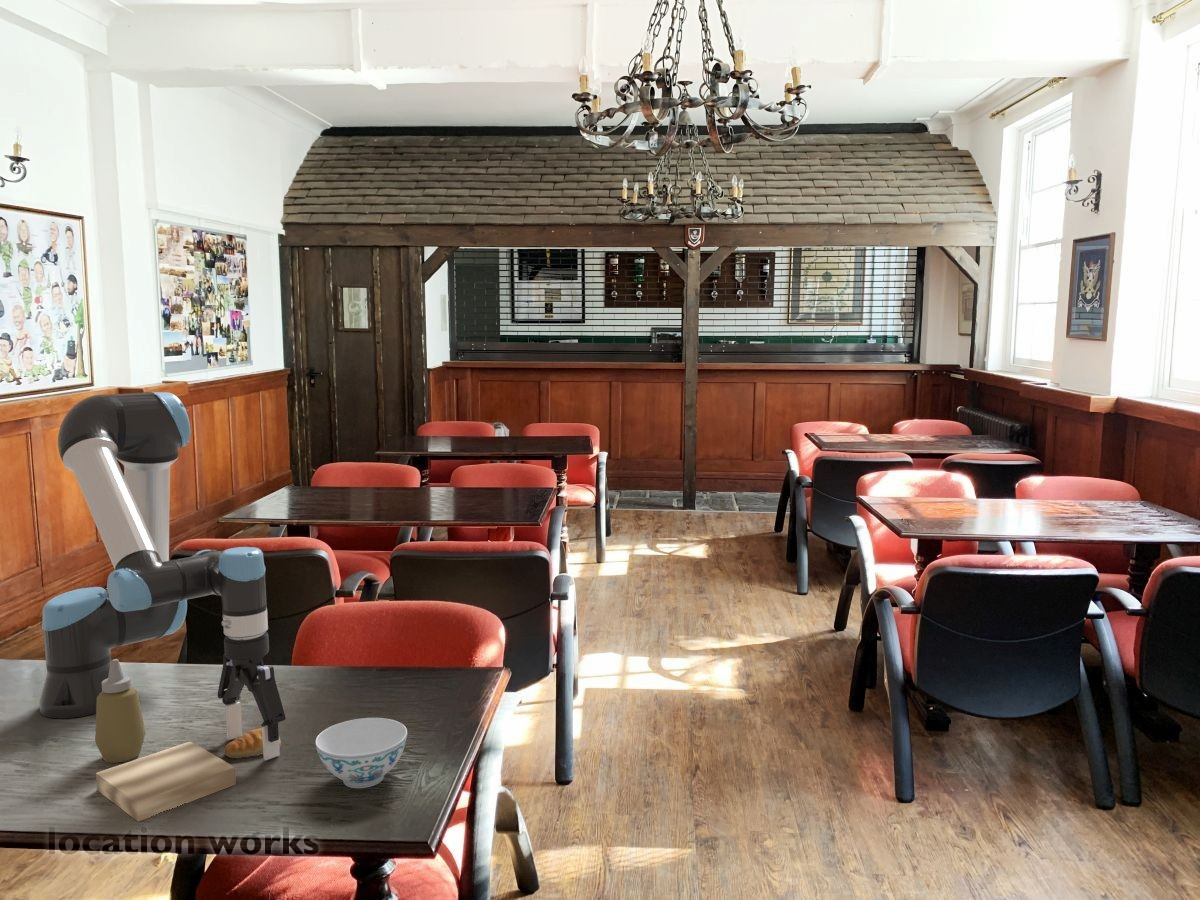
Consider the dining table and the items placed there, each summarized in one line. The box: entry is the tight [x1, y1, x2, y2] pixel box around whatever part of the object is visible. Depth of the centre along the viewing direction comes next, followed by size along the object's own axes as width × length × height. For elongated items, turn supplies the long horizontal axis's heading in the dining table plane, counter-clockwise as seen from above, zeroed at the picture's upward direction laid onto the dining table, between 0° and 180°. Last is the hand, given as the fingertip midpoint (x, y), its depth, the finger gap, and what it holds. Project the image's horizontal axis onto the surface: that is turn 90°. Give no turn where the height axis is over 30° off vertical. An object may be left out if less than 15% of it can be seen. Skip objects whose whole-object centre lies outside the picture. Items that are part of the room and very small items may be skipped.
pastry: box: [224, 727, 282, 759], centre depth 170 cm, size 9×7×4 cm
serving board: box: [95, 740, 237, 822], centre depth 156 cm, size 16×16×3 cm
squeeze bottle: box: [94, 658, 146, 764], centre depth 167 cm, size 8×8×18 cm
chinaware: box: [315, 717, 408, 789], centre depth 158 cm, size 15×15×8 cm
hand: (252, 747), depth 171 cm, fingers open, 12 cm apart
